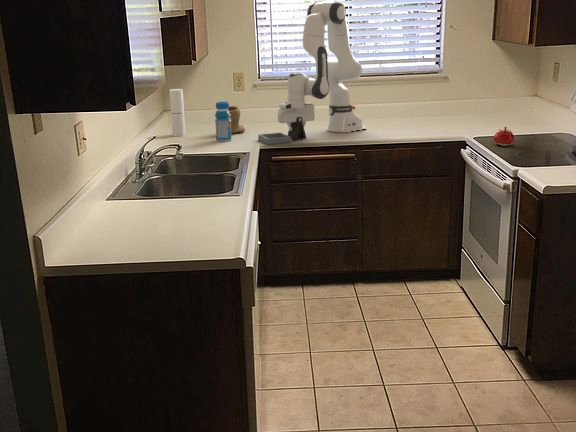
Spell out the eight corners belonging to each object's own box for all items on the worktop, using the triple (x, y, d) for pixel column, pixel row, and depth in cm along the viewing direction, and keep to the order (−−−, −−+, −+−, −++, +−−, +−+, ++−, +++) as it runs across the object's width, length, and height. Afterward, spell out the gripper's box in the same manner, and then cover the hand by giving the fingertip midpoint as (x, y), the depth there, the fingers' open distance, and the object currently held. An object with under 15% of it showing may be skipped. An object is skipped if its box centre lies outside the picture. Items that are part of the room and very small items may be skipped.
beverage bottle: (220, 142, 334) (218, 104, 328) (213, 139, 341) (211, 102, 334) (234, 140, 338) (233, 102, 332) (227, 138, 345) (225, 100, 339)
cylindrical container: (170, 135, 354) (166, 89, 346) (180, 133, 359) (177, 88, 351) (178, 137, 350) (174, 90, 342) (188, 135, 355) (185, 89, 347)
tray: (281, 137, 343) (280, 132, 342) (291, 142, 331) (291, 136, 330) (258, 140, 338) (258, 134, 338) (268, 145, 326) (267, 139, 325)
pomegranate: (488, 145, 320) (489, 126, 318) (504, 142, 324) (506, 124, 321) (502, 148, 312) (503, 129, 309) (518, 146, 315) (519, 127, 312)
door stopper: (294, 140, 335) (294, 118, 332) (286, 139, 340) (286, 116, 336) (306, 138, 341) (306, 116, 338) (298, 136, 345) (298, 114, 342)
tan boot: (226, 136, 350) (224, 109, 345) (216, 133, 359) (215, 106, 355) (250, 133, 357) (249, 106, 353) (240, 130, 367) (239, 103, 362)
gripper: (311, 101, 341) (311, 127, 346) (276, 104, 334) (276, 130, 338) (316, 103, 336) (316, 129, 340) (280, 106, 328) (281, 132, 333)
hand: (296, 130), depth 339 cm, fingers open, 5 cm apart
